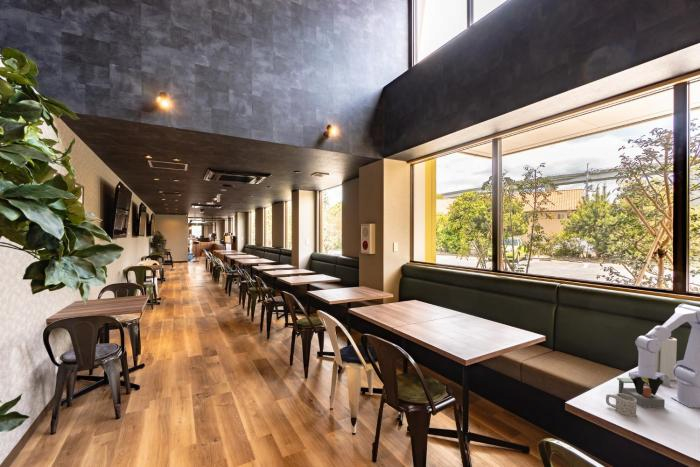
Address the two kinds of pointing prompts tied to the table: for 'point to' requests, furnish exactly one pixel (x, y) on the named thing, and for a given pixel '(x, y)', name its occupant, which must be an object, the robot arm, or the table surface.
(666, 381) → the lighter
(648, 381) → the lemon
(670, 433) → the table surface
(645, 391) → the peg
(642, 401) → the socket block
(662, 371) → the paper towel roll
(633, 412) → the mug
